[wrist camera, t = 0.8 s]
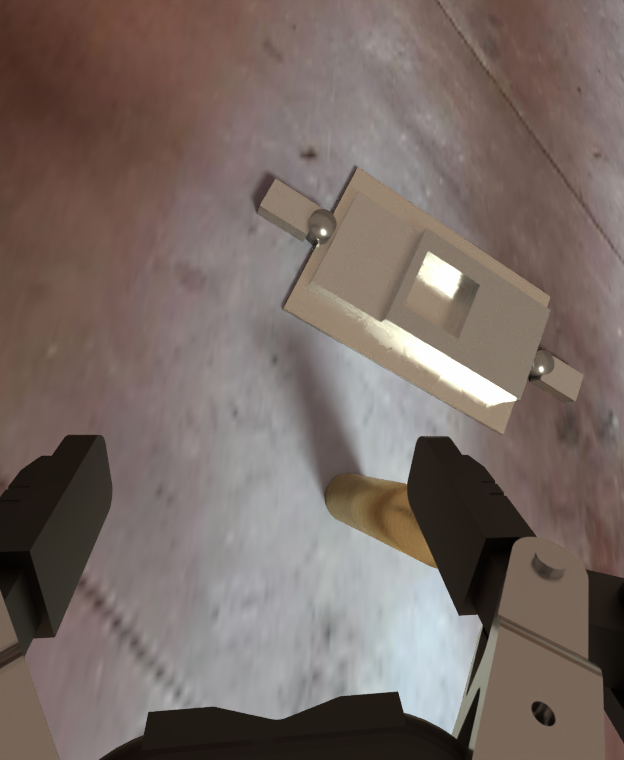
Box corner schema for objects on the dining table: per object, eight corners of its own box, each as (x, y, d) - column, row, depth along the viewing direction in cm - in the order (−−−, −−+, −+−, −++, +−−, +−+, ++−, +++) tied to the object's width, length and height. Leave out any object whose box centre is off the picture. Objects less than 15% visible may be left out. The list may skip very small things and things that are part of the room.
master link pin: (316, 491, 36) (396, 521, 22) (353, 463, 37) (449, 476, 24) (342, 532, 36) (436, 585, 22) (378, 502, 37) (487, 536, 24)
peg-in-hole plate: (221, 274, 36) (224, 262, 34) (303, 134, 40) (310, 115, 38) (545, 460, 43) (566, 461, 40) (587, 325, 47) (608, 319, 44)
